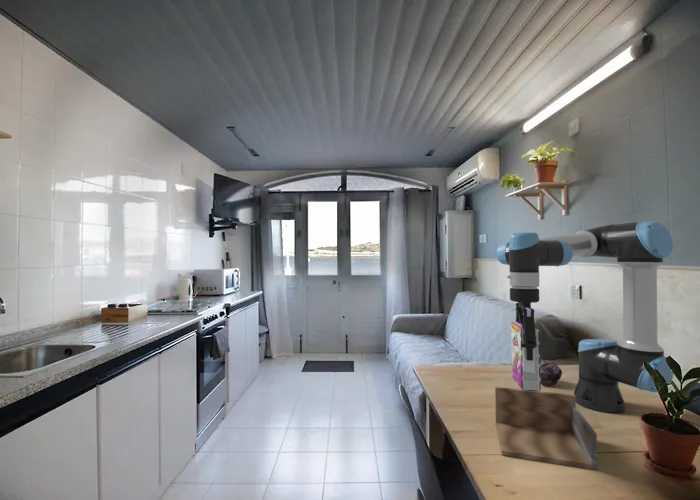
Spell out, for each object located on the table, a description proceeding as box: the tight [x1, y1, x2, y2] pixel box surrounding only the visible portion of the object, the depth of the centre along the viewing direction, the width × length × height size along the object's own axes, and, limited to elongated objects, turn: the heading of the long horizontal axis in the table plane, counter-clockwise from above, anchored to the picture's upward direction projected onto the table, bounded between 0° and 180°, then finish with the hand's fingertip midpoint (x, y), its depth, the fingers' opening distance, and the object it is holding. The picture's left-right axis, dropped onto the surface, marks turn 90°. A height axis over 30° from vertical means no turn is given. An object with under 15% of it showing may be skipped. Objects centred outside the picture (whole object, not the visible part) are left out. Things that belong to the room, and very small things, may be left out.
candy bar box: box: [510, 321, 542, 391], centre depth 98 cm, size 11×5×16 cm, turn 168°
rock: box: [540, 359, 563, 387], centre depth 148 cm, size 12×9×10 cm
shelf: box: [494, 386, 598, 471], centre depth 99 cm, size 22×18×12 cm
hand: (525, 365), depth 98 cm, fingers closed on candy bar box, 11 cm apart
